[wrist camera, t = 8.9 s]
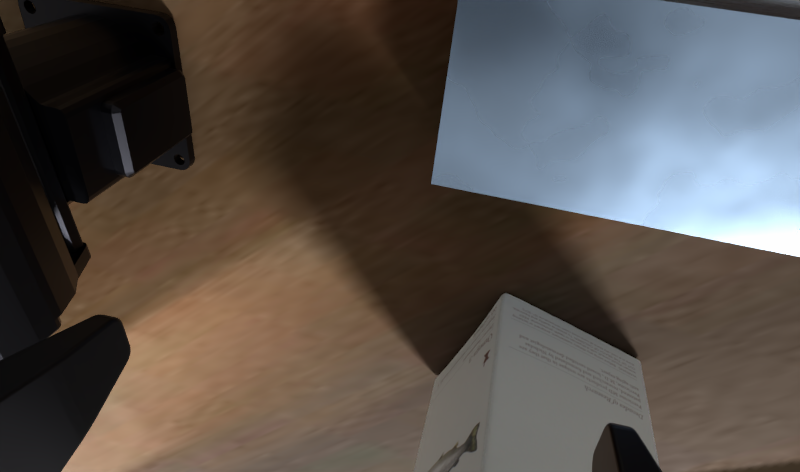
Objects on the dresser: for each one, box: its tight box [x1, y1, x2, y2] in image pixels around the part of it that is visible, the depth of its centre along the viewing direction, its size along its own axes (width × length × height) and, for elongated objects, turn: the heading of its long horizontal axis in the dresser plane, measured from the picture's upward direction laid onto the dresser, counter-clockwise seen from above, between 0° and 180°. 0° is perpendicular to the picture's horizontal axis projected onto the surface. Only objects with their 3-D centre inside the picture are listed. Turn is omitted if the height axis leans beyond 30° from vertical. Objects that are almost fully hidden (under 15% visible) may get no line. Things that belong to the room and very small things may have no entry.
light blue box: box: [431, 0, 800, 257], centre depth 15 cm, size 16×6×6 cm, turn 85°
